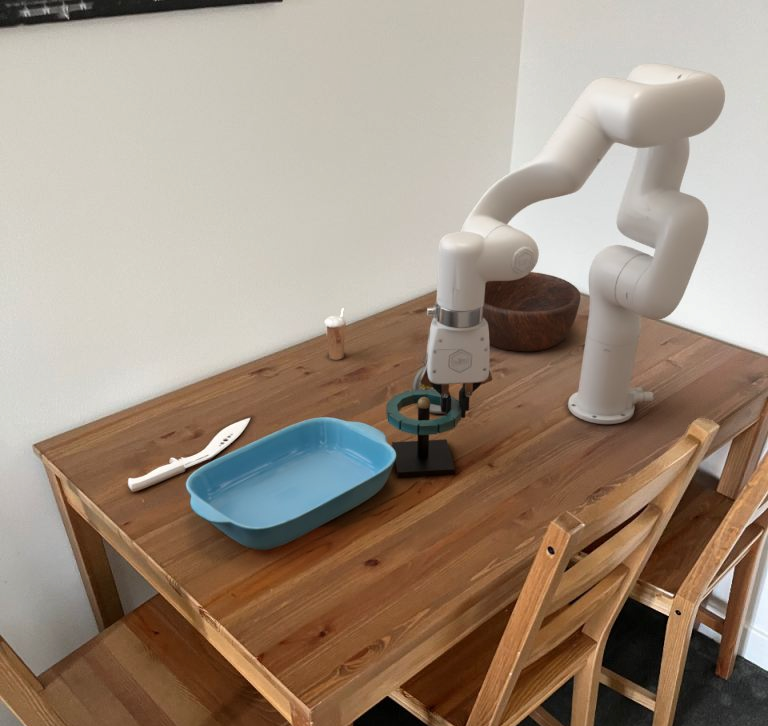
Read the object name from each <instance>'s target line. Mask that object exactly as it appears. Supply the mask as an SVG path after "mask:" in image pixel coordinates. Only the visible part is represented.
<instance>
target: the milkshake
mask: <svg viewBox="0 0 768 726" xmlns="http://www.w3.org/2000/svg"><path fill="white" fill-rule="evenodd" d="M344 311H345V309H344V308H343V307H342V308H341V312H340V316H339V315H330V316H328V317H327V318H326V319H325V320H324V321H323V322H324V329H325V336H326V342H327V349H328V358H329V359H331V360H333V361H335V360H336V361H339V360H342V359H343V358H344V357H345V341H346V339H345V338H346V337H345V336H346V328H347V327H346V325H347V321H346V319H345V318H344V317H343V316H344Z"/></svg>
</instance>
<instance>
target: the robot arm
mask: <svg viewBox="0 0 768 726" xmlns="http://www.w3.org/2000/svg"><path fill="white" fill-rule="evenodd" d="M725 102H726V91H725V88H724V85H723V83H722V81H721V80H720V79H719V78H718V77H717V76H715V75H714V74H713V73H710V72H706V71H701V70H696V69H690V68H685V67H680V66H677V65H672V64H666V63H658V62H657V63H656V62H648V63H641V64H639V65H637V66H636V67H634V68H633V69H632V70H631V71H630V72H629V73H628V76H627V77H626V79H624V78H618V77H611V76H605V77H604V76H603V77H599V78H597V79H594V80H593V81H591V82H590V83H589V84H588V85H587V86H586V87H585V88H584V90H583V91H581V94H580V95H579V96H578V97H577V99H576V100H575V102H574V104H573V105H572V106H571V107H570V109H569V110H568V111H567V113H566V115H565V116H564V117H563V118H562V121H560V123H559V124H558V125H557V127H556V129H555V130H554V132H553V133H552V134H551V136H550V137H549V138H548V139H547V140H546V142H545V144H544V145H543V146H542V148H541V150H540V151H539V152H538V153H537V154H536V155H535V156H534V157H533V158H531V159H530V160H528V161H526V162H524V163H522V164H521V165H519V166H517V167H516V168H514V169H513V170H511V171H510V172H508V173H507V174H506V175H504V176H503V177H501V178H500V179H498V180H496V181H495V182H494V183H493V184H492V185H491V186H490V187H489V188H488V189H487V190H486V191H485V192H484V193H483V195H482V196H481V197H480V199H479V200H478V201H477V202H476V204H475V206H474V207H473V209H472V210H471V211H470V213H469V214H468V216H467V217H466V219H465V221H464V223H463V225H462V227H461V229H460V231H454V232H449V233H447V234H445V235H443V236H442V237H441V238H440V241H439V243H438V250H437V277H436V278H437V279H436V300H435V304H434V305H432V306H429V307H427V308H426V315H427V317H433V318H432V320H431V323H430V328H429V330H428V338H427V345H426V354H425V355H426V356H425V360H426V366H425V365H424V366H425V368H424V370H423V372H422V374H421V377H420V382H421V384H423V386H424V385H426V386H429V387H433V388H434V389H435V391H437V392H438V393H439V394H440V395H441V412H444V413H443V414H444V416H446V415H447V414H448V413H449V411H450V410H451V396H452V395H451V392H450V385H454V384H462V386H461V388H460V390H459V391H458V401H459V404H460V406H461V409H462V415H461V419H465V418H466V413H467V412H469V410H470V397H472V396H473V393H474V392H475V391H476V390H477V389H478V388H480V386H482V385H483V386H484V385H485V384H488V383H490V382H492V381H493V380H494V379H493V378H494V377H493V375H492V372H491V370H490V363H491V361H490V360H491V359H490V356H491V355H490V354H491V353H490V350H491V349H490V348H491V347H490V346H491V345H490V343H489V329H488V323H487V321H486V320H485V319H484V318H483V310H484V296H485V283H486V282H488V281H511V280H516V279H520V278H522V277H524V276H526V275H528V274H529V273H530V272H533V270H534V269H535V267H536V266H537V263H538V261H539V255H540V252H539V246H538V244H537V242H536V241H535V239H534V238H533V237H531V236H530V235H529V234H527V233H526V232H524V231H522V230H520V229H518V228H515V227H513V226H511V225H510V224H509V223H510V222H511V221H512V219H514V217H515V216H517V214H519V213H520V212H521V211H523V210H524V209H526V208H527V207H529V206H531V205H534V204H536V203H538V202H541V201H545V200H550V199H556V198H559V197H564V196H567V195H572V194H575V193H577V192H578V191H580V190H581V189H582V188H583V187H584V185H585V184H586V182H587V181H588V179H589V178H590V176H591V175H592V174H593V172H594V171H595V170H596V168H597V167H598V165H599V164H600V163H601V161H602V160H603V158H605V156H606V155H607V153H608V152H609V150H610V149H611V148H612V147H613V145H614V144H619V145H623V146H627V147H631V148H634V149H636V153H635V156H634V161H633V164H632V167H631V171H630V173H629V177H628V180H627V182H626V186H625V188H624V191H623V195H622V198H621V201H620V204H619V207H618V211H617V215H616V227H617V230H618V231H619V233H621V234H622V235H623V236H624V237H626V238H628V239H630V240H631V241H635V242H636V243H639V244H642V245H643V246H647V247H649V248H652V249H654V253H653V256H652V255H651V254H648V253H646V252H643V251H641V250H638V249H636V248H633V247H631V246H627V245H622V244H614V245H609V246H606V247H605V248H602V249H601V250H600V251H599V252H598V253H597V254H596V255H595V256H594V258H593V260H592V262H591V264H590V267H589V271H588V294H589V308H588V309H589V311H588V319H587V320H588V321H587V326H586V335H585V340H584V341H585V342H584V348H583V354H582V362H581V367H580V375H579V383H578V391H576V392H574V393H572V395H570V397H569V398H568V401H567V405H568V406H567V407H568V410H569V411H570V412H571V414H572V415H574V416H575V417H576V418H578V419H580V420H583V421H585V422H588V423H592V424H598V425H616V424H621V423H624V422H626V421H629V420H630V419H631V418H633V416H634V413H635V409H636V408H635V405H636V404H637V403H641V402H642V403H648V402H653V400H654V393H653V392H652V391H643V388H642V387H639V386H637V387H631V383H632V378H633V375H634V373H633V372H634V368H635V363H636V357H637V352H638V345H639V340H640V336H641V330H642V317H644V318H645V319H649V320H653V321H654V320H655V321H656V320H657V321H659V320H663V319H666V318H667V317H669V316H671V314H672V313H673V312H674V311H676V309H677V308H678V306H679V304H680V303H681V301H682V299H683V297H684V295H685V293H686V290H687V288H688V285H689V283H690V280H691V277H692V275H693V273H694V270H695V267H696V265H697V262H698V259H699V257H700V254H701V252H702V249H703V246H704V243H705V241H706V238H707V234H708V230H709V221H710V220H709V219H710V218H709V212H708V209H707V207H706V205H705V204H704V202H703V201H702V200H701V199H699V198H698V197H696V196H694V195H691V194H689V193H684V192H682V191H681V187H682V183H683V180H684V177H685V173H686V169H687V166H688V162H689V158H690V151H691V150H690V148H691V147H690V138H692V137H695V136H699V135H700V134H702V133H704V132H706V131H707V130H709V129H710V128H711V127H712V126H713V125H714V124H715V123H716V121H717V120H718V119H719V117H720V115H721V114H722V113H723V112H722V111H723V109H724V105H725ZM450 395H451V396H450Z"/></svg>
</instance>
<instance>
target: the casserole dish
mask: <svg viewBox="0 0 768 726" xmlns="http://www.w3.org/2000/svg"><path fill="white" fill-rule="evenodd" d="M395 460H396V452H395V450H394V449H393V447H392V445H391V444H389V443H388V441H387V436H386V434H385V433H384V432H383V431H381V430H380V429H377V427H374V426H371V425H370V424H368V423H364V422H360V421H350V420H349V421H347V420H344V419H340V418H336V417H328V416H327V417H325V416H323V417H313V418H308V419H306V420H303V421H299V422H297V423H294V424H291V425H289V426H287V427H283V428H281V429H279V430H277V431H275V432H273V433H270V434H268V435H266V436H263V437H261V438H259V439H256V440H255V441H253V442H251V443H248V444H246V445H244V446H241V447H240V448H239V447H238V448H237V449H235V450H233V451H230V452H227V454H224V455H222V456H220V457H218V458H216V459H214V460H212V461H210V462H208V463H206V464H204V465H202V466H201V467H199V468H198V469H196V470H194V471H193V472H192V473H191V474H190V475H189V476H188V478H187V479H186V482H185V489H186V490H187V493H188V494H189V496H190V503H189V504H190V508H191V510H192V511H193V512H194V513H195V514H196V515H197V516H199V517H200V518H201V519H203V520H205V521H207V522H209V523H210V524H212V525H213V526H214V527H215V528H217V529H218V530H219V531H220V532H222V533H223V534H225V535H226V536H227V537H229V539H232V540H233V541H235V542H237V543H238V544H240V545H242V546H243V547H245V548H249V549H251V550H258V551H266V550H271V549H275V548H278V547H281V546H283V545H286V544H288V543H291V542H292V541H295V540H297V539H299V538H301V537H303V536H305V535H306V534H308V533H310V532H312V531H314V530H316V529H317V528H319V527H321V526H323V525H325V524H327V523H328V522H330V521H332V520H334V519H337V518H338V517H340V516H341V515H343V514H346V513H347V512H349V511H350V510H353V509H354V508H356V507H358V506H359V505H361V504H363V503H365V502H366V501H368V500H370V499H371V498H372V497H373V496H375V495H376V494H377V493H378V492H380V491H381V490H382V489H383V487H384V486H385V485H386V482H387V481H388V479H389V477H390V474H391V472H392V470H393V466H394V465H395Z"/></svg>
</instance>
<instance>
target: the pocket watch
mask: <svg viewBox="0 0 768 726" xmlns="http://www.w3.org/2000/svg"><path fill="white" fill-rule="evenodd" d="M425 357H426V354H424V355H422V357H421V360H420V361H421V363H422V364H424V366H423V367H421V368H420V369H419V370H418V371H417V373H416V375H415V377H414V379H413V383H412V390H424V389H428V391H429V390H435V389H434V388H433V387H429V386H426V385H423V384H421V382H420V377H421V374H422V372H423V370H424V368H425V366H426V359H425V361H423V360H424V358H425ZM435 391H436V390H435ZM431 413H432V414H438V415H441V414H445V413H444V412H441V406H439V405H434V404H430V414H431Z"/></svg>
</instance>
